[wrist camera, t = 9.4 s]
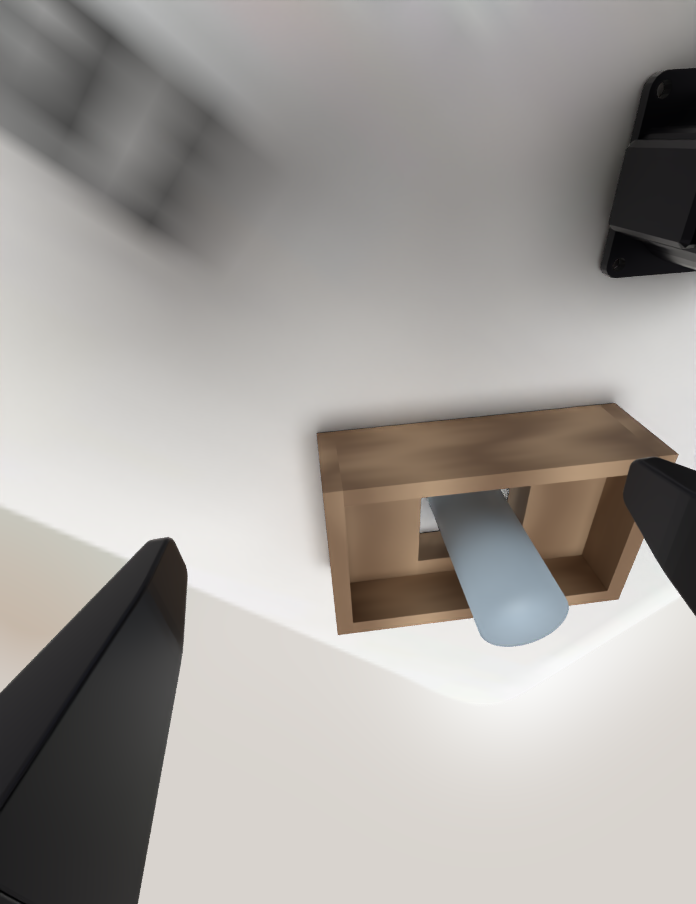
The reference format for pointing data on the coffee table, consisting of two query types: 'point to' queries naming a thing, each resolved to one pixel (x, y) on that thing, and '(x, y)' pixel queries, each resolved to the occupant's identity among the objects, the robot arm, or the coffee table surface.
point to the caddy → (472, 470)
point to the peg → (499, 568)
